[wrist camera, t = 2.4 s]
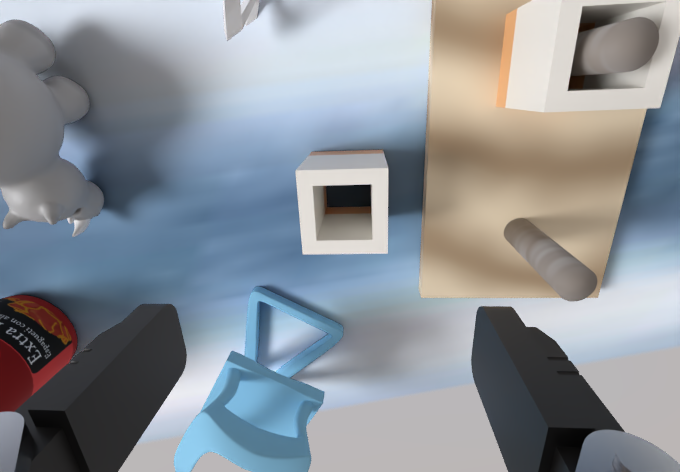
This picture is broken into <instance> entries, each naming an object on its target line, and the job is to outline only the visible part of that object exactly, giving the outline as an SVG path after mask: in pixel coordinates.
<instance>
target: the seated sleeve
mask: <svg viewBox="0 0 680 472" xmlns="http://www.w3.org/2000/svg"><path fill="white" fill-rule="evenodd" d="M635 17H645V18H648V19H650V20H652V21H653V22H654V23H655V24H656V26H657V28H658V31H659V43H658V46H657V49H656V51H655V53H654V55H653V56H652V58H651V59H650V60H649V61H648V62H647V63H646V64H645V65H643V66H642V67H640V68H639V69H637V70H634V71H631V72H622V73H608V74H595V75H581V76H570V74H571V68H572V63H573V57H574V51H575V46H576V40H577V35H578V33H580V32H584V31H587V30H591V29H595V28H598V27H602V26H606V25H609V24H613V23H616V22H620V21H624V20H627V19H631V18H635ZM679 37H680V0H532V1H530V2H528V3H526V4H524V5H522V6H521V7H519V8H517V9H515V10H513V11H511V12H510V13H508V14H506V21H505V30H504V39H503V48H502V56H501V65H500V74H499V83H498V92H497V101H496V107H502V108H510V109H519V110H527V111H536V112H569V111H595V110H622V109H648V108H660V106H661V103H662V99H663V95H664V92H665V88H666V84H667V81H668V77H669V73H670V70H671V66H672V62H673V59H674V55H675V51H676V48H677V44H678V40H679Z"/></svg>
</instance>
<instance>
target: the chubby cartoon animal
mask: <svg viewBox="0 0 680 472" xmlns="http://www.w3.org/2000/svg"><path fill="white" fill-rule="evenodd" d="M54 60H55V49H54V46H53V44H52V42H51V40H50V39H49V38H48V37H47V36H46V35H45V34H44V33H43V32H42V31H41V30H39V29H38V28H37V27H35V26H33V25H32V24H30V23H27V22H25V21H22V20H9V21H6V22H4V23H2V24H1V25H0V188H1V191H2V195H3V197H4V200H5V201H6V203H7V204H8V206H9V212H8V214H7V215H6V217H5V219H4V222H3V228H4V229H10V228H13V227H14V226H15V225H16V224H18V223H19V222H21V221H37V222H49V223H50V224H56V223H57V221H60V220H64V219H66V218H67V220H68V222H69V223H70V224H71V223H73V222H74V224H75V230H74V233H73V235H72V236H73V237H74V236H77V235H79V234H81V233H82V232H84V231H85V229H86V228H87V227H88V225H89V223H90V220H91V219H92V218H93V217H95V216H98V215H99V214H100V211H101V209H102V208H103V204H104V196H103V193H102V191H101V190H100V188H99V187H98V186H97V185H95V184H94V183H92V182H90V181H88V180H85V178H84V176H83V175H82V173H81V172H80V170H79V169H78V168H77V167H76V166H75V165H73V164H72V163H70V162H69V161H66V160H64V159H62V158H60V156H59V151H60V148H61V146H62V143H63V139H64V125H66V124H69V123H72V122H75V121H77V120H79V119H81V118H82V117H83V116H85V115H86V113H87V112H88V110H89V107H90V101H89V97H88V95H87V93H86V92H85V90H84V89H83V88H82V87H81V86H80V85H78V84H77V83H76V82H74V81H72V80H70V79H68V78H66V77H62V76H53V77H49V78H47V79H45V80H44V81H42V80H41V79H40V78H39V77H38V76H37V74H39V73H41V72H44V71H45V70H47V69H48V68H49V67H51V65H52V64H53V63H54Z"/></svg>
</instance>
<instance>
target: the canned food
mask: <svg viewBox="0 0 680 472" xmlns="http://www.w3.org/2000/svg"><path fill="white" fill-rule="evenodd" d="M76 348H77V335H76V331H75V329H74V327H73V325H72V323H71V322H70V320H69V319H68V318H67V316H66V315H65V314H64V313H63V312H62V311H61V310H59V309H58V308H57V307H55V306H54V305H52V304H50V303H49V302H47V301H45V300H42V299H40V298H37V297H33V296H28V295H16V296H10V297H6V298H2V299H0V412H14V411H15V410H17V409H18V408H19V407H20V406H21V405H22V404H23V403H24V402H25V401H27V400H28V399H29V398H30V397H31V396H32V395H33V394H34V393H35V392H37V391H38V390H39V389H40V388H41V387H42V386H43V385H44V384H45V383H47V382H48V381H49V380H50V379H51V378H52V377H53V376H54V375H55V374H56V373H58V372H59V371H60V370H61V369H62V368H63V367H64V366H65V365H66V364H68V363H69V361H70V360H71V358H72V356H73V355H74V353H75V351H76Z"/></svg>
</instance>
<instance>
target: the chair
mask: <svg viewBox="0 0 680 472" xmlns="http://www.w3.org/2000/svg"><path fill="white" fill-rule="evenodd" d="M260 301H261V302H264V303H266V304H268V305H270V306H273V307H275V308H277V309H279V310H281V311H283V312H285V313H287V314H289V315H291V316H293V317H295V318H297V319H299V320H302V321H304V322H306V323H308V324H310V325H312V326H314V327H316V328H318V329H320V330H322V331H324V332H326V333H329V334H328V335H326V336H325V337H323V338H322V339H320V340H319V341H317V342H316V343H314V344H313V345H312V346H310V347H309V348H307V349H306V350H304V351H303V352H301V353H300V354H298V355H297V356H296V357H294V358H293V359H291V360H290V361H289V362H287V363H286V364H284V365H283V366H282V367H281V368H279V369H278V370H277V371H276V372H274V371H272V370H270V369H268V368H266V367H264V366H263V365H261V364H259V363H257V357H258V344H259V312H260ZM342 337H343V326H342V325H340V324H338V323H336V322H334V321H332V320H330V319H328V318H326V317H324V316H322V315H320V314H317V313H315V312H313V311H311V310H309V309H307V308H305V307H303V306H301V305H298V304H296V303H294V302H292V301H290V300H288V299H286V298H284V297H282V296H279V295H277V294H275V293H273V292H271V291H269V290H267V289H265V288H263V287H260V286H257V287H255V288H254V289H253V291H252V293H251V295H250V297H249V302H248V311H247V324H246V342H245V355H244V356H243V355H241V354H239V353H237V352H234V351H231V353H230V355H229V357H228V359H227V361H226V363H225V365H224V367H223V369H222V371H221V373H220V375H219V377H218V379H217V381H216V383H215V384H214V386H213V388H212V390H211V392H210V394H209V396H208V398H207V400H206V402H205V404H204V406H203V408H202V410H201V412H200V413H199V414H198V415H197V416H196V417H195V419H194V420H193V421H192V423H191V425H190V426H189V428H188V429H187V431H186V433H185V434H184V436H183V438H182V440H181V442H180V444H179V446H178V448H177V451H176V453H175V457H174V466H175V469H176V472H191V471H192V469H193V467H194V466H195V464H196V462H197V461H198V459H199V458H200V457H201V456H202V455H203V454H205V453H207V452H214V453H217V454H219V455H221V456H223V457H224V458H226V459H228V460H230V461H231V462H232V463H234V464H236V465H238V466H240V467H241V468H243V469H245V470H249V471H252V472H308V470H309V467H310V464H311V454H310V449H309V443H308V437H307V432H306V426H307V424H308V423H309V422H310V420H311V419H312V418H313V416H314V415H315V414H316V412H317V411H318V409H319V408H320V407H321V405H322V404H323V399H324V392H323V391H321V390H319V389H317V388H314V387H312V386H310V385H308V384H305V383H302V382H299V381H296V380H293V379H291V377H292V376H293V375H295V374H296V373H297V372H299V371H300V370H302V369H303V368H304V367H306V366H307V365H308V364H310V363H311V362H313V361H314V360H315V359H317V358H318V357H320V356H321V355H322V354H324V353H325V352H326V351H328V350H329V349H330V348H332V347H333V346H334V345H335V344H336V343H337V342H338V341H340V339H341V338H342Z"/></svg>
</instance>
